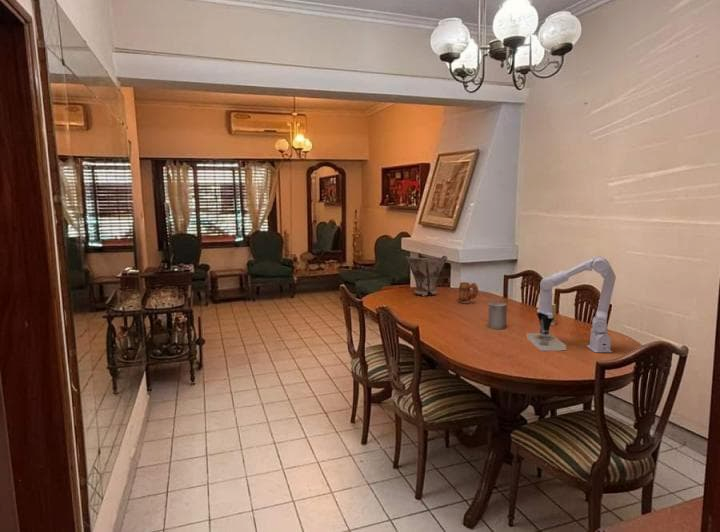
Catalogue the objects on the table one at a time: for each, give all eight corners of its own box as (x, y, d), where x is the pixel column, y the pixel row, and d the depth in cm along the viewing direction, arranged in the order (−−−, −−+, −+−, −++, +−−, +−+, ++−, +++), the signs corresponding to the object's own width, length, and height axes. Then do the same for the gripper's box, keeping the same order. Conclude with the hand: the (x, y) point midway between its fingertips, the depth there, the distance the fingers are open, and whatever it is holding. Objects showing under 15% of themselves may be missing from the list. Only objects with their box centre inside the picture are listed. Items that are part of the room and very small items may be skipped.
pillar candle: (500, 324, 262) (501, 298, 260) (509, 328, 252) (510, 302, 250) (485, 325, 260) (485, 300, 258) (493, 330, 250) (494, 303, 248)
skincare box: (545, 326, 256) (546, 305, 254) (540, 324, 260) (541, 303, 258) (555, 325, 258) (556, 304, 256) (550, 323, 262) (551, 302, 260)
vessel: (450, 292, 349) (450, 254, 345) (441, 299, 325) (441, 258, 321) (413, 290, 361) (413, 252, 357) (402, 296, 337) (402, 257, 333)
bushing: (550, 334, 225) (551, 320, 224) (541, 334, 225) (542, 320, 224) (547, 331, 229) (547, 318, 228) (538, 332, 229) (539, 318, 228)
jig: (565, 350, 216) (566, 345, 215) (540, 350, 216) (540, 345, 216) (549, 337, 236) (550, 332, 235) (526, 337, 236) (526, 333, 236)
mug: (455, 302, 315) (455, 281, 313) (462, 301, 321) (462, 280, 318) (473, 306, 305) (473, 284, 302) (480, 304, 310) (480, 282, 308)
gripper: (532, 298, 232) (531, 324, 234) (542, 305, 218) (541, 332, 220) (546, 298, 232) (545, 324, 234) (557, 305, 217) (556, 332, 220)
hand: (544, 328), depth 227 cm, fingers closed on bushing, 4 cm apart
